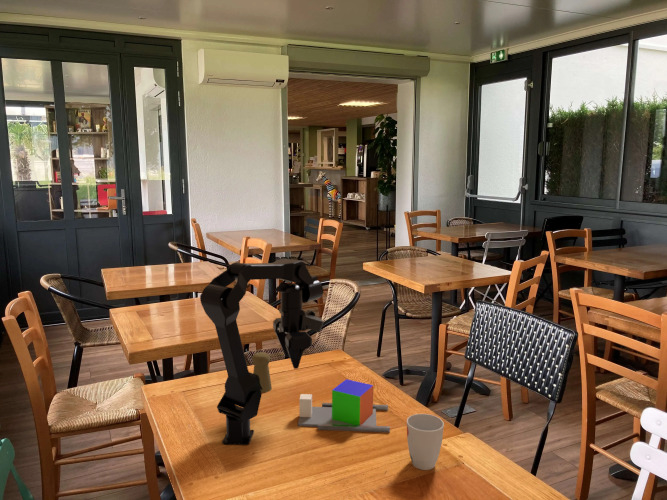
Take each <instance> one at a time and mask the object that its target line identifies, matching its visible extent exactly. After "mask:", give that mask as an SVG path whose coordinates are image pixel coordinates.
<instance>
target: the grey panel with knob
mask: <svg viewBox="0 0 667 500" xmlns="http://www.w3.org/2000/svg"><path fill="white" fill-rule="evenodd" d="M299 396H300V397H299V418H298V422H297V427H311V428H312V427H315V428H318V424H342V425H352V424H349V423H345V422H341V421H337V420H333V419H332V407H322V406H313V394H312V393H311V394H310V393H309V394H307V393H304V394H303V393H301V394H300V395H299ZM362 425H369V426H377V410H376V409H373V414H372V415H371V416H370V417H369V418H368V419H367V420H366V421H365V422H364V423H363V424H362Z"/></svg>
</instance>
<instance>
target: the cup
mask: <svg viewBox="0 0 667 500" xmlns="http://www.w3.org/2000/svg"><path fill="white" fill-rule="evenodd" d="M444 426H445V423H444V421H443V420H442V419H441V418H440V417H438V416H436V415H433V414H430V413H429V414H428V413H415V414H412V415H410V416H408V417H407V418H406V438H407V439H406V440H407V446H408V447H407V448H408V453H409V454H408V455H409V456H410V460H411V463H412V466H413V467H414V468H416V469H418V470H422V471H430V470H432V469H434V468H435V466H436V464H437V462H438V459H439V455H440V452H441V447H442V444H443V435H444V428H445V427H444Z"/></svg>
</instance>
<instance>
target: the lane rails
mask: <svg viewBox="0 0 667 500" xmlns="http://www.w3.org/2000/svg"><path fill="white" fill-rule="evenodd" d="M321 407H332V402H322V403H321ZM373 409H376V411H389V405H388V404H374V403H373ZM317 430H318V431H341V432H366V433H369V432H370V433H391V426H389V425H376V426H369V425H342V424H318V427H317Z"/></svg>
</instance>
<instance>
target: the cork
mask: <svg viewBox="0 0 667 500" xmlns="http://www.w3.org/2000/svg"><path fill="white" fill-rule="evenodd" d="M251 359H252V360H251V361H252V364H253V370H252V371H253V372H252V373H253V374H256V375H258V376H259V378H260V385H261V387H262V390H261V394H264V393H268V392H270V391H271V390H272V381H271V375H270V368H269V365H270V361H271V357H270V354H269V353H267V352H264V351H261V352H256V353H254V354H253V355H252V358H251Z"/></svg>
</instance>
